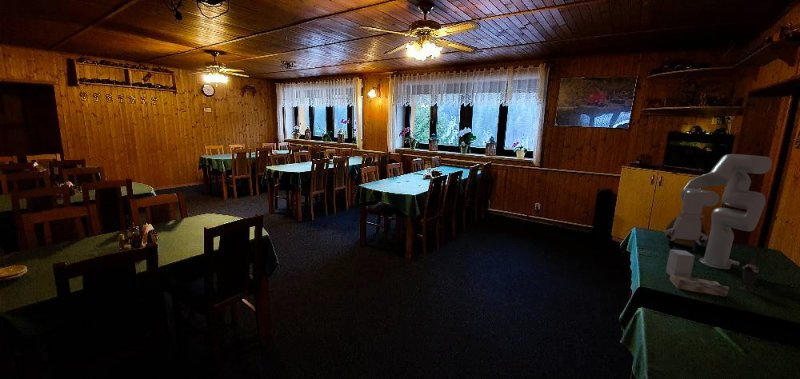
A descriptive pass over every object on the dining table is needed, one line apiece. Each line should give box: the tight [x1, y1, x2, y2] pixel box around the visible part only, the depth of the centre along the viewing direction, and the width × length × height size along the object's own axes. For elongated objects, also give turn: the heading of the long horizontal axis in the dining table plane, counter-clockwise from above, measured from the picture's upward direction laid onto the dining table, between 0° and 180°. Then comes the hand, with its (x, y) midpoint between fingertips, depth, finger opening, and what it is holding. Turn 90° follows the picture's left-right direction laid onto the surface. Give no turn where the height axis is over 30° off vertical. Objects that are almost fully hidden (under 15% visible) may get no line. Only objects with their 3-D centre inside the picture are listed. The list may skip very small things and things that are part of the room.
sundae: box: [738, 258, 762, 293], centre depth 156 cm, size 7×7×15 cm
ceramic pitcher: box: [664, 199, 707, 248], centre depth 212 cm, size 20×20×30 cm
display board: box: [669, 275, 730, 297], centre depth 158 cm, size 18×10×4 cm, turn 69°
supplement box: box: [665, 249, 695, 278], centre depth 169 cm, size 7×7×13 cm
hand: (682, 249), depth 167 cm, fingers open, 9 cm apart
